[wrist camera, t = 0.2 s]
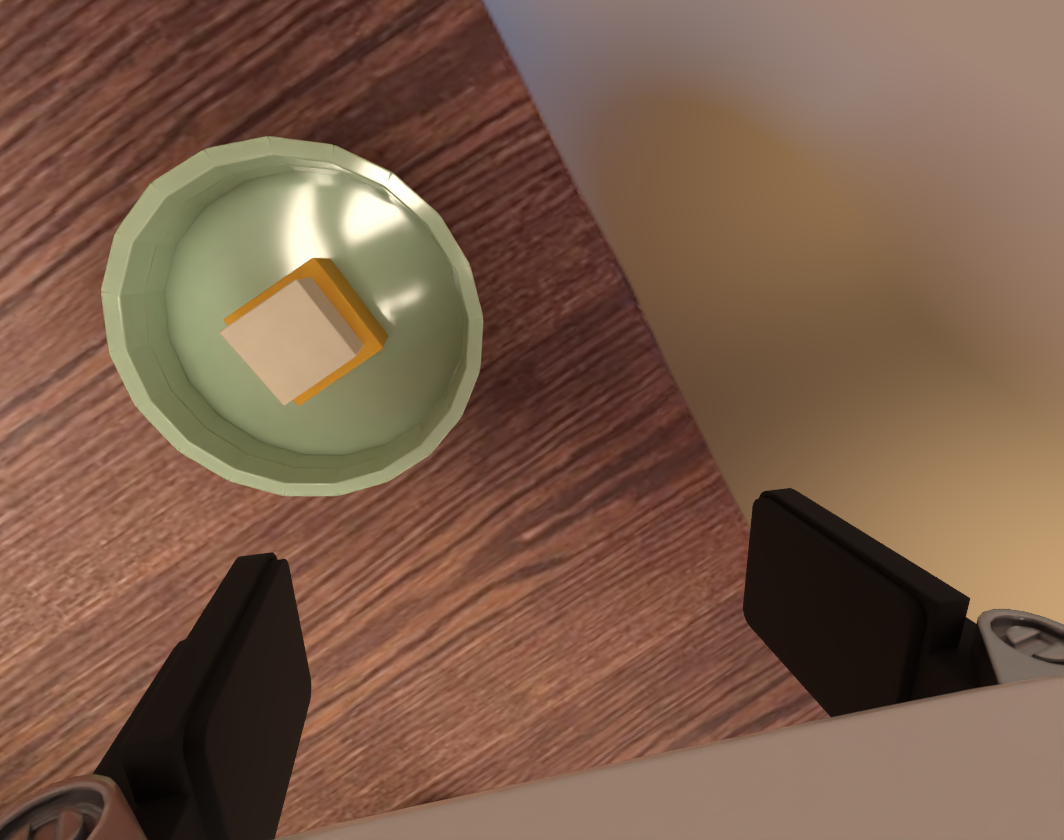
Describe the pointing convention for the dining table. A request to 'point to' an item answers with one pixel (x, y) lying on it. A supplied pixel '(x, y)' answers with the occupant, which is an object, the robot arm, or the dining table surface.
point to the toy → (304, 331)
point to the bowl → (255, 265)
